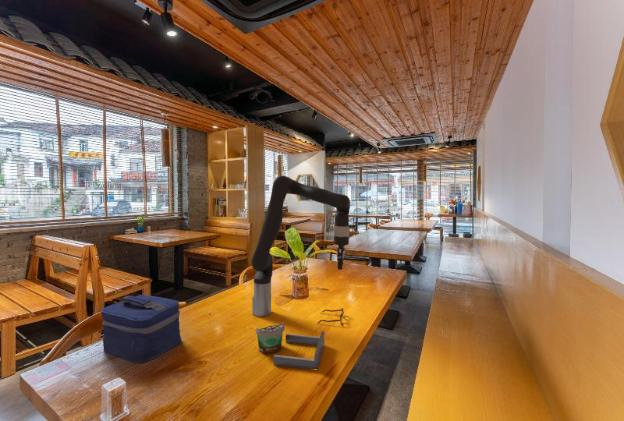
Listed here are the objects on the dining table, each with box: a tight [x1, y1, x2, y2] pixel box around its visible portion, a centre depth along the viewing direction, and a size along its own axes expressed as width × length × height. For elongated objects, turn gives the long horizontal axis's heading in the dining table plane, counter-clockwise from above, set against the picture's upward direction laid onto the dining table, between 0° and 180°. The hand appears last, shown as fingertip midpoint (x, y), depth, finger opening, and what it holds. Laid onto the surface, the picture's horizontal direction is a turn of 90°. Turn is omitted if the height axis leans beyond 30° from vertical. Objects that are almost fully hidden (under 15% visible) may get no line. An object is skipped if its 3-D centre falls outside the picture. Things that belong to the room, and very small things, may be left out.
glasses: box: [318, 308, 345, 326], centre depth 143 cm, size 13×13×5 cm
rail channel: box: [273, 331, 325, 370], centre depth 111 cm, size 17×17×6 cm
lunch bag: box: [100, 294, 182, 364], centre depth 117 cm, size 31×21×20 cm
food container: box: [254, 321, 286, 356], centre depth 113 cm, size 12×6×10 cm, turn 117°
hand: (340, 267), depth 138 cm, fingers open, 8 cm apart
